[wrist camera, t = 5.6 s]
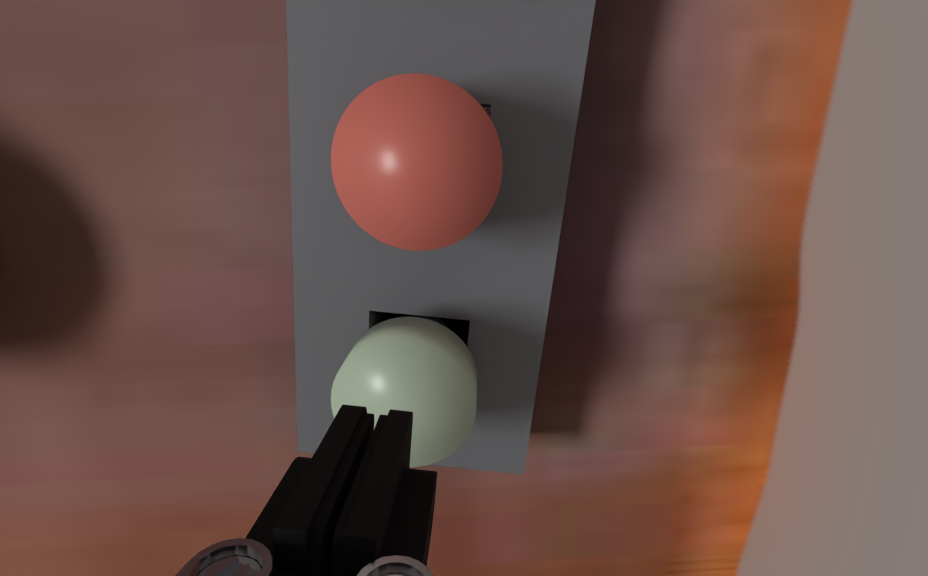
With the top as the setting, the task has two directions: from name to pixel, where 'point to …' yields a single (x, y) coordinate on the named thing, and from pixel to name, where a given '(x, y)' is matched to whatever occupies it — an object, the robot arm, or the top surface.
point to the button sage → (413, 382)
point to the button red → (416, 162)
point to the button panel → (470, 259)
